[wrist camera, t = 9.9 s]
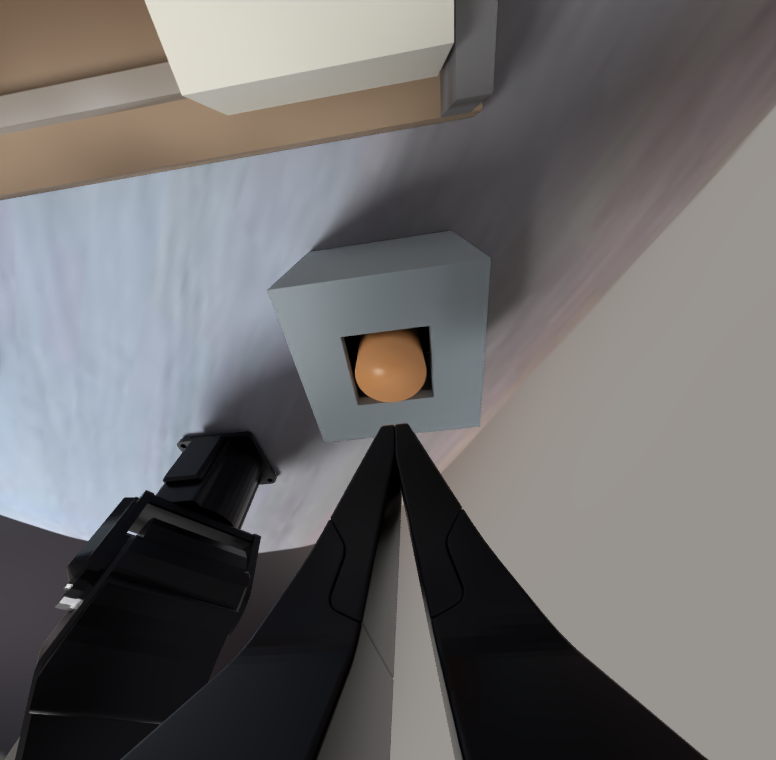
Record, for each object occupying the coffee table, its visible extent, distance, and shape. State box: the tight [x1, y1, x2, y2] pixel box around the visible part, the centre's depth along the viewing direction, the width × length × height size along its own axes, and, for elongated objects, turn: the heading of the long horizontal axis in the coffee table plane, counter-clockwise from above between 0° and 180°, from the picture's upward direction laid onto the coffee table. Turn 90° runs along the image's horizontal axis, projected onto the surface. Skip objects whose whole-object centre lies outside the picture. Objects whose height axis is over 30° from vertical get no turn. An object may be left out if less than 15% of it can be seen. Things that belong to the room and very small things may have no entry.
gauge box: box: [267, 230, 491, 442], centre depth 15 cm, size 8×8×7 cm
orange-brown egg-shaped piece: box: [355, 327, 426, 402], centre depth 13 cm, size 3×3×4 cm
